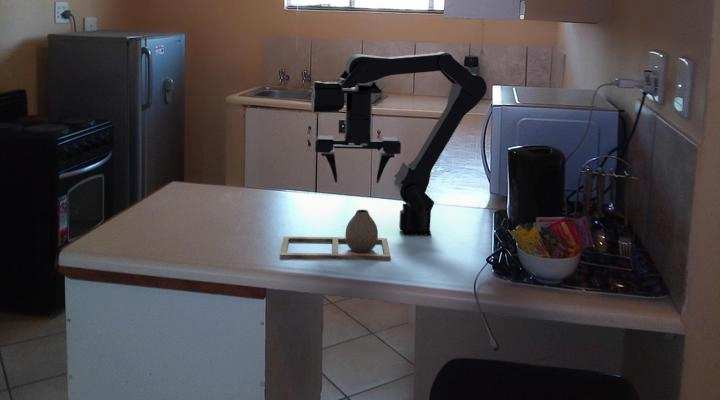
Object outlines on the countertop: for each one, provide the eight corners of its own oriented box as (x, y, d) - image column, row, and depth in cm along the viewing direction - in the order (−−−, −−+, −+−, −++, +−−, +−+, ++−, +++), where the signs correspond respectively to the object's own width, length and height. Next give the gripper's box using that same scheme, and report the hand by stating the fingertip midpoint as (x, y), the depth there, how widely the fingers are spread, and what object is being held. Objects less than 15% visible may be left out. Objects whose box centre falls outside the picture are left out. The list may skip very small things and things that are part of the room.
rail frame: (386, 241, 170) (386, 237, 169) (390, 260, 158) (390, 255, 158) (283, 239, 169) (283, 235, 168) (279, 258, 157) (279, 254, 157)
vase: (359, 242, 168) (360, 204, 166) (383, 250, 164) (385, 211, 162) (338, 250, 163) (339, 210, 161) (363, 258, 159) (364, 217, 157)
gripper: (398, 108, 175) (395, 174, 180) (316, 106, 175) (315, 173, 179) (402, 116, 165) (399, 186, 169) (315, 114, 164) (314, 185, 168)
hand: (356, 182), depth 171 cm, fingers open, 9 cm apart
